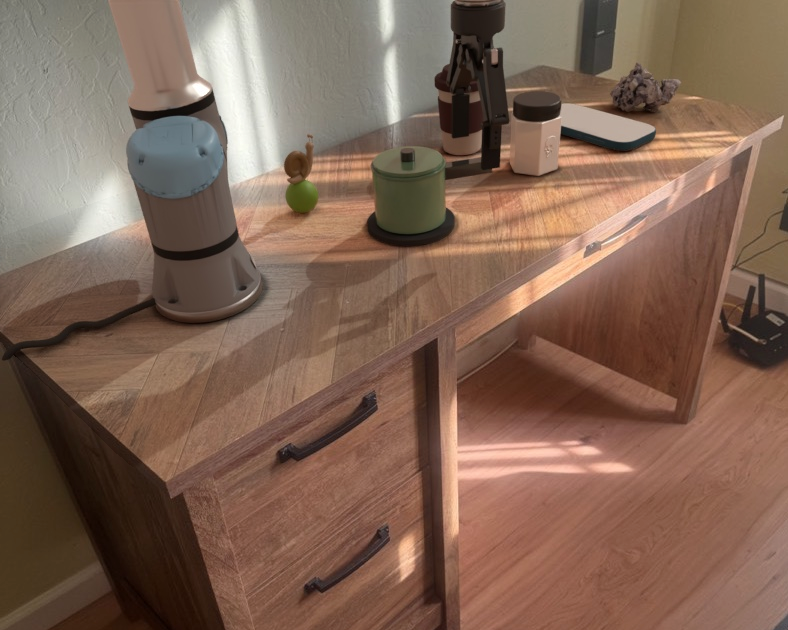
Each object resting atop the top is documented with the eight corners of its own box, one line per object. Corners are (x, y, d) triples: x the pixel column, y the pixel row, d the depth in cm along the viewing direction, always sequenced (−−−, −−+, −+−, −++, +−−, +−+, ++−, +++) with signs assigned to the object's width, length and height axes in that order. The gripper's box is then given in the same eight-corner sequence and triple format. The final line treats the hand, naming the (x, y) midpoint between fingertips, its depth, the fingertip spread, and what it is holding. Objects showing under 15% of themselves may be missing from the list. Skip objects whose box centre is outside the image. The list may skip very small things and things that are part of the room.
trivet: (379, 252, 116) (379, 247, 115) (358, 214, 126) (358, 208, 126) (466, 236, 118) (466, 231, 118) (439, 200, 129) (439, 195, 128)
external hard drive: (661, 138, 144) (663, 127, 143) (624, 156, 139) (625, 145, 137) (563, 110, 159) (564, 100, 157) (526, 125, 153) (526, 115, 152)
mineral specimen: (687, 92, 152) (664, 47, 148) (655, 119, 150) (631, 74, 147) (647, 106, 163) (625, 64, 160) (617, 131, 161) (594, 90, 158)
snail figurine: (331, 207, 129) (322, 137, 122) (302, 221, 126) (292, 150, 118) (309, 199, 132) (300, 130, 125) (281, 212, 129) (269, 142, 121)
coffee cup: (497, 143, 147) (499, 61, 137) (473, 162, 140) (473, 77, 131) (451, 136, 151) (451, 56, 142) (426, 154, 145) (424, 71, 135)
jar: (529, 180, 133) (533, 110, 125) (499, 166, 138) (501, 98, 131) (567, 166, 136) (573, 98, 129) (536, 153, 142) (540, 87, 134)
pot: (502, 218, 119) (504, 150, 112) (384, 240, 116) (379, 170, 109) (477, 190, 128) (477, 124, 121) (367, 209, 125) (361, 143, 118)
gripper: (540, 16, 95) (529, 179, 109) (473, -20, 114) (470, 122, 128) (484, 23, 94) (479, 186, 107) (425, -15, 113) (427, 128, 126)
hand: (474, 152), depth 118 cm, fingers open, 13 cm apart
